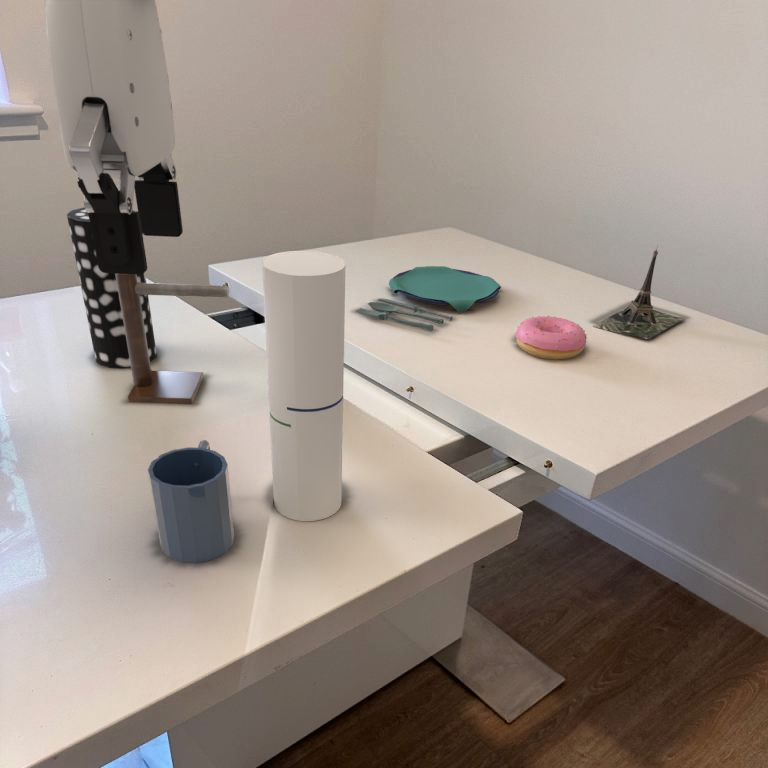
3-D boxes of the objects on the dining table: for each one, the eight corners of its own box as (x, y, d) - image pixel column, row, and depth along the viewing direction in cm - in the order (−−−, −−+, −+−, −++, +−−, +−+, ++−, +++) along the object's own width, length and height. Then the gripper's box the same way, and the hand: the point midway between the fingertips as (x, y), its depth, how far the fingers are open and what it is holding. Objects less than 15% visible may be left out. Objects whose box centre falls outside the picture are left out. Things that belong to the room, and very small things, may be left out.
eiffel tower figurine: (648, 343, 117) (671, 260, 110) (592, 326, 123) (610, 246, 115) (684, 321, 127) (707, 243, 119) (631, 306, 132) (650, 230, 124)
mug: (228, 569, 67) (220, 488, 61) (154, 567, 66) (139, 486, 61) (244, 503, 75) (238, 427, 70) (179, 501, 75) (168, 425, 70)
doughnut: (528, 365, 108) (533, 338, 106) (504, 337, 117) (507, 312, 114) (595, 361, 110) (601, 336, 108) (566, 334, 119) (571, 310, 116)
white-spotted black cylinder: (125, 345, 107) (100, 202, 95) (169, 357, 104) (150, 212, 93) (83, 364, 101) (51, 215, 89) (129, 378, 98) (103, 225, 86)
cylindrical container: (332, 525, 73) (334, 279, 58) (265, 515, 74) (250, 270, 59) (347, 487, 79) (353, 255, 64) (284, 479, 79) (276, 247, 65)
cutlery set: (515, 292, 135) (517, 280, 134) (439, 340, 114) (441, 326, 113) (424, 271, 144) (425, 259, 142) (337, 311, 123) (337, 298, 121)
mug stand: (127, 407, 91) (105, 281, 82) (143, 380, 98) (124, 261, 89) (232, 410, 92) (221, 286, 83) (240, 383, 98) (232, 265, 89)
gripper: (89, -33, 51) (130, 221, 60) (-32, -48, 36) (47, 287, 46) (196, -28, 51) (219, 225, 60) (116, -41, 36) (163, 293, 46)
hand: (144, 252), depth 53 cm, fingers open, 9 cm apart
